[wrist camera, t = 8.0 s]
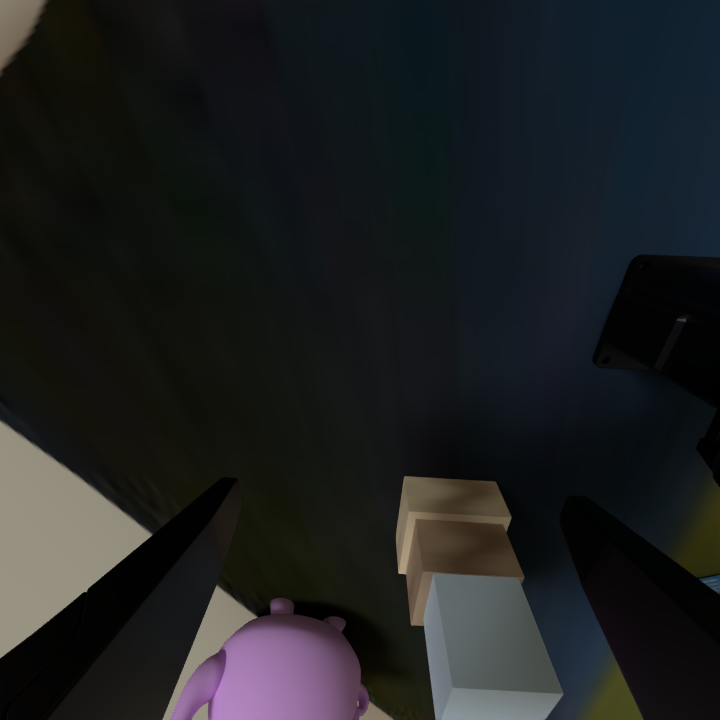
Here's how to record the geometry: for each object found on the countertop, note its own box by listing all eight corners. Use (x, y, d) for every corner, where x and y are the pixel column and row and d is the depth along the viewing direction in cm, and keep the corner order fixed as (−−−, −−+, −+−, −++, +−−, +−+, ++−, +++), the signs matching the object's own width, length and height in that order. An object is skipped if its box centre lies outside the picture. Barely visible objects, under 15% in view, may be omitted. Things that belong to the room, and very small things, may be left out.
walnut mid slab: (502, 524, 22) (524, 577, 19) (483, 576, 25) (500, 630, 22) (415, 519, 22) (423, 571, 19) (405, 571, 25) (411, 624, 22)
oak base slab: (494, 477, 25) (511, 517, 22) (475, 536, 28) (488, 579, 25) (403, 472, 25) (408, 511, 22) (395, 532, 28) (398, 573, 25)
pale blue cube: (518, 577, 19) (563, 694, 15) (498, 623, 21) (533, 735, 17) (433, 573, 19) (452, 687, 15) (423, 618, 21) (437, 730, 17)
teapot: (180, 625, 36) (92, 819, 24) (223, 558, 30) (134, 770, 19) (339, 674, 40) (326, 861, 28) (402, 622, 34) (418, 831, 23)
